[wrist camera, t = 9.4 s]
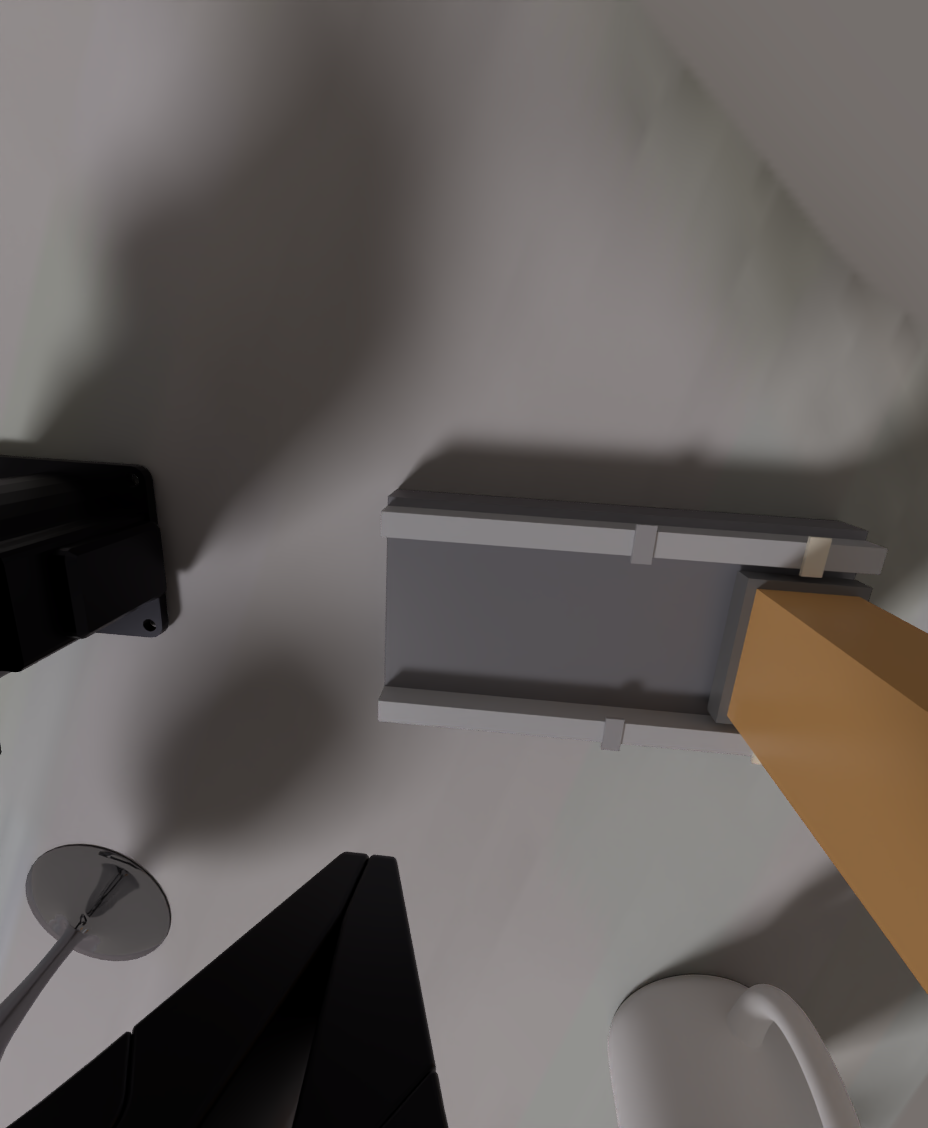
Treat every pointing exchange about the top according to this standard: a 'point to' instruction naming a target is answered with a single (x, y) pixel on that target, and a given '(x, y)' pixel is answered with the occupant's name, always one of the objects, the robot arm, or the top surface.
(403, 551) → the rail
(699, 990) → the cup
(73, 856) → the wine glass
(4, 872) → the top surface
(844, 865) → the fader tab
